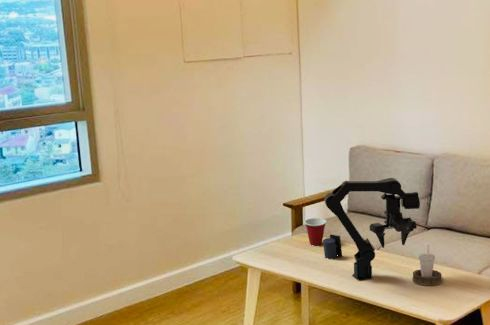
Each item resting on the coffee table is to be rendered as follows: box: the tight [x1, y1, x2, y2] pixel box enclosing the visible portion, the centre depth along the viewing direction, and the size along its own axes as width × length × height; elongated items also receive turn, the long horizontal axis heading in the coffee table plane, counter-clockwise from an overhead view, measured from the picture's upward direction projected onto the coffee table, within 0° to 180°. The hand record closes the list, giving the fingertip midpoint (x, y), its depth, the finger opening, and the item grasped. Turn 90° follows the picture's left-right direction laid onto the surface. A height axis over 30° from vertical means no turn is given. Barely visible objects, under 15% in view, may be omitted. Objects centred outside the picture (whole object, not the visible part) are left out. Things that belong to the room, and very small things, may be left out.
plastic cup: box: [304, 217, 327, 246], centre depth 310 cm, size 11×11×12 cm
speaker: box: [322, 234, 343, 260], centre depth 289 cm, size 8×6×10 cm
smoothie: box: [418, 245, 436, 278], centre depth 254 cm, size 6×6×14 cm
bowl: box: [412, 268, 443, 287], centre depth 255 cm, size 12×12×3 cm
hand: (393, 246), depth 260 cm, fingers open, 9 cm apart
